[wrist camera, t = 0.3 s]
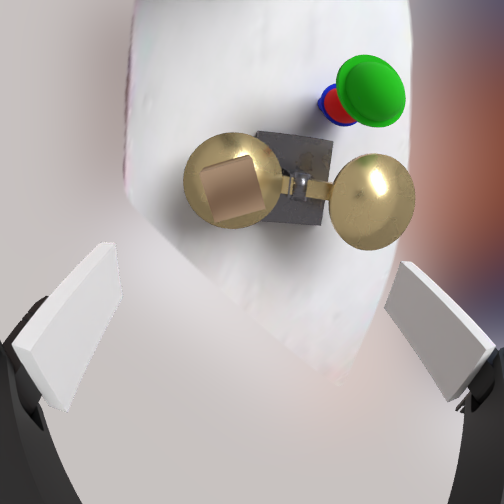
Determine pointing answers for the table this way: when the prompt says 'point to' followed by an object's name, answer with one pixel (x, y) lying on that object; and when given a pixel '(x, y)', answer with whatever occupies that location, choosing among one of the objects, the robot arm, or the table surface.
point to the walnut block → (232, 188)
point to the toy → (364, 94)
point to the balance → (311, 186)
